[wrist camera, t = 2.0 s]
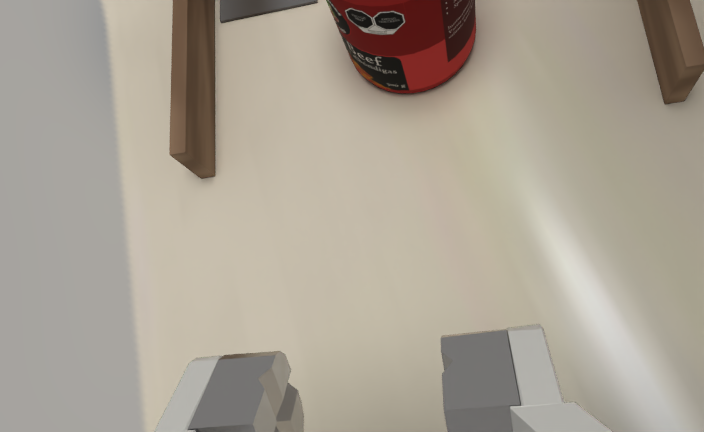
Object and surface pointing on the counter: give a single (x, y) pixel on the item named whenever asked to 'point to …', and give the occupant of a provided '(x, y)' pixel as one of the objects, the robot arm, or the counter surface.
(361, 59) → the canned food
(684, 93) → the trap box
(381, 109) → the counter surface
